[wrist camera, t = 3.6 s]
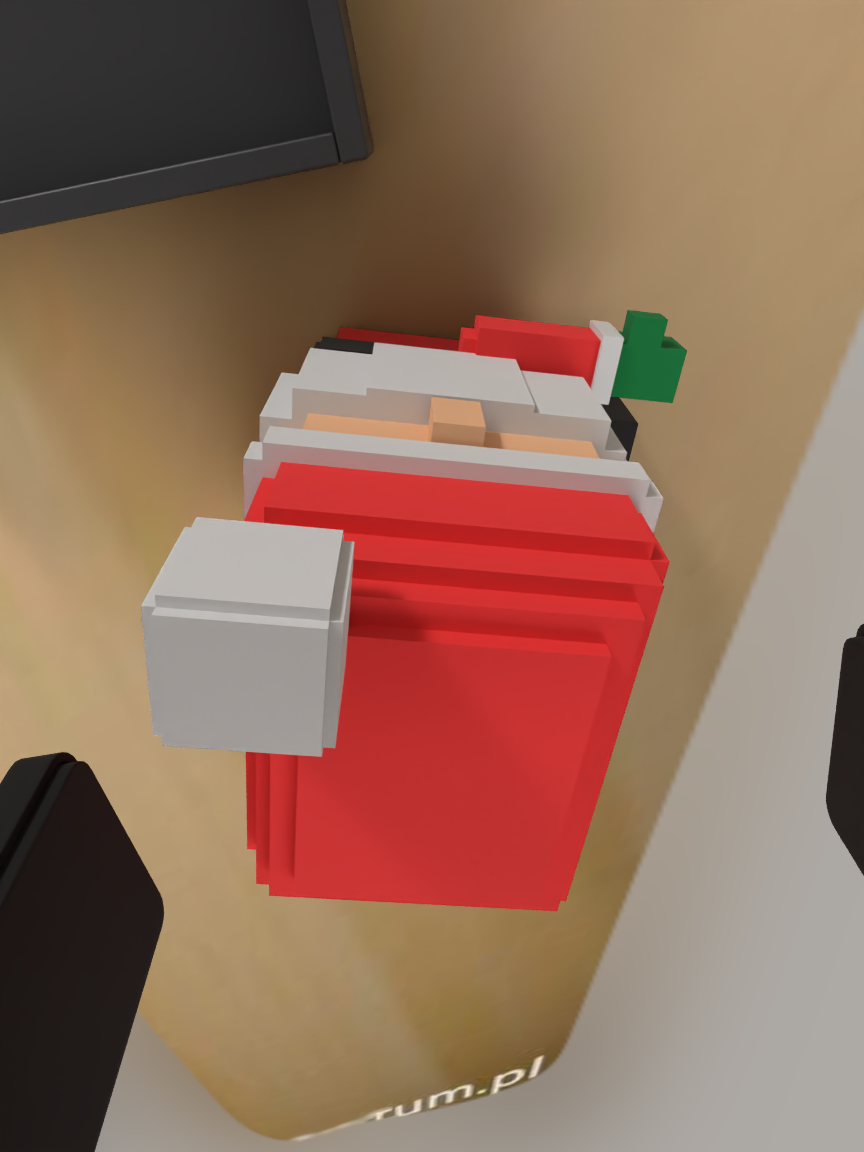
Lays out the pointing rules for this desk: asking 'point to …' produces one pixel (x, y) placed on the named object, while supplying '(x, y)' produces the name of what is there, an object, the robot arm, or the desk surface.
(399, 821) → the figurine
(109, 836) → the robot arm
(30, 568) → the desk surface
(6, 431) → the desk surface
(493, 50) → the desk surface
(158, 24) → the tray
